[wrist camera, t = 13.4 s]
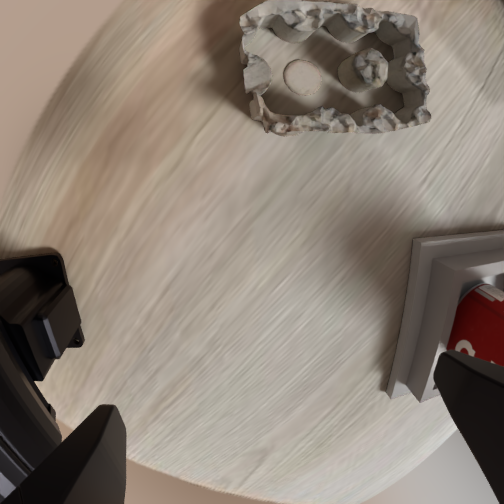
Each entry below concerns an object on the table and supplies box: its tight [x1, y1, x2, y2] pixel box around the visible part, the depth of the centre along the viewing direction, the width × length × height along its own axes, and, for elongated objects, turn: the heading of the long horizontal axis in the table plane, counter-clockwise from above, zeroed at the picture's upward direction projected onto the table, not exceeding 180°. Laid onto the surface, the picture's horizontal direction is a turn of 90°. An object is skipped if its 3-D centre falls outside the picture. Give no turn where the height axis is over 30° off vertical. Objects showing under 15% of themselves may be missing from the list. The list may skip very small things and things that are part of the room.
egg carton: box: [239, 0, 431, 137], centre depth 15 cm, size 11×8×4 cm
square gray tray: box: [386, 230, 504, 403], centre depth 22 cm, size 14×14×4 cm
